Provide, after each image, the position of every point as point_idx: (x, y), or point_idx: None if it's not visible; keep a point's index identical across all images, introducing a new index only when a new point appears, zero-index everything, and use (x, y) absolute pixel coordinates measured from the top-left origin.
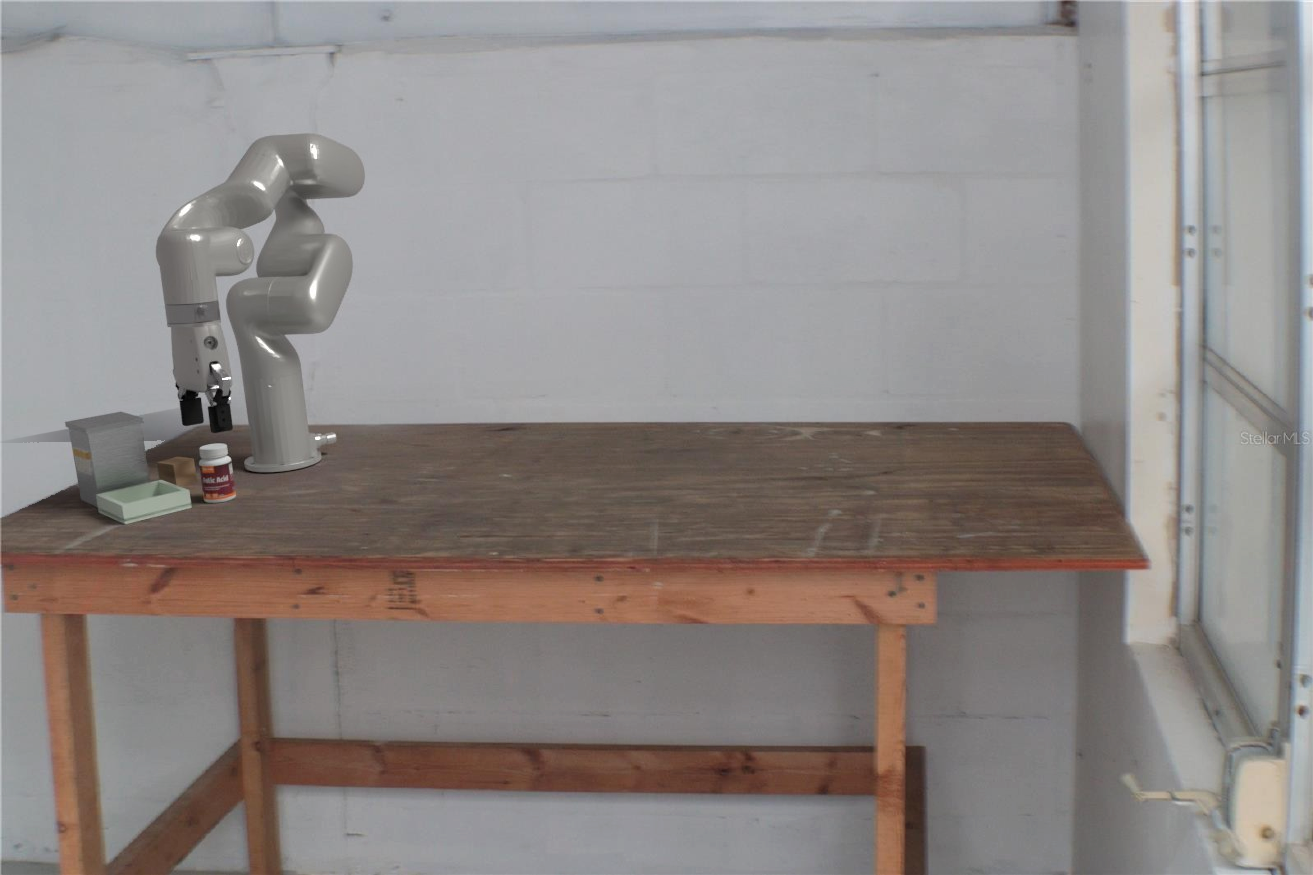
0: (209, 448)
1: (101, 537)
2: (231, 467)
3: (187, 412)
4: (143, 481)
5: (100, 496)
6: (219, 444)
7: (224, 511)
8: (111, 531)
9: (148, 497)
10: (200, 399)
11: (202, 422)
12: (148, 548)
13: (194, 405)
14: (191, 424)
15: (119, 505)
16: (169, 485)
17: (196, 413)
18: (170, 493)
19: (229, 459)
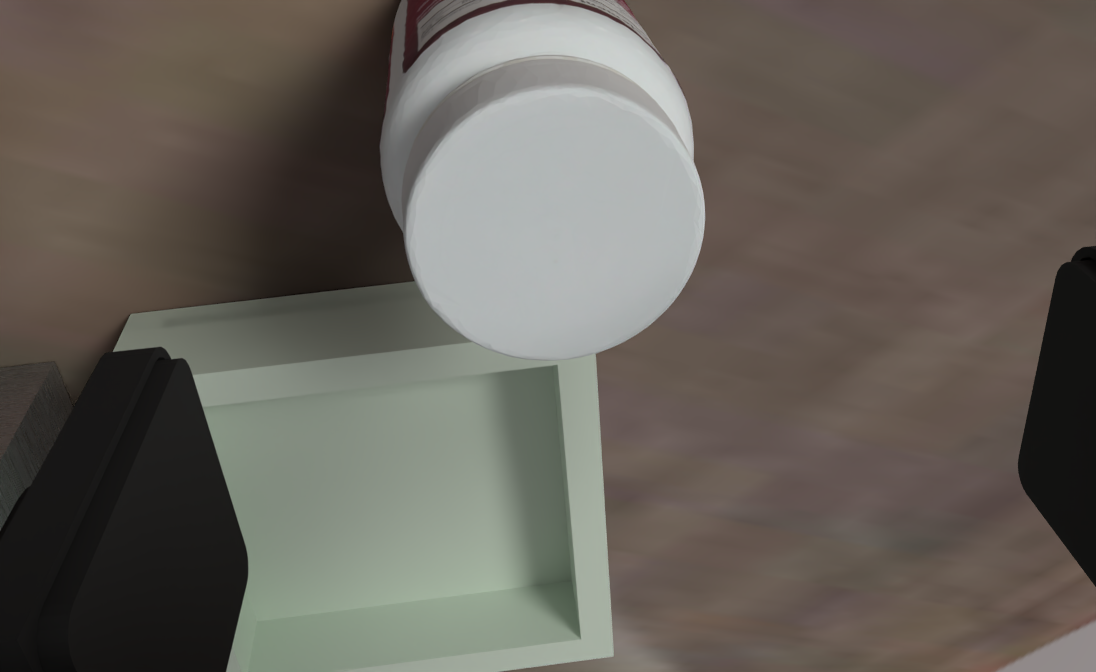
0: (619, 290)
1: (718, 669)
2: (631, 20)
3: (206, 665)
4: (30, 470)
5: None
6: (517, 151)
7: (848, 138)
8: (661, 630)
9: (211, 429)
10: (75, 631)
11: (186, 366)
12: (1077, 573)
13: (139, 647)
14: (229, 500)
15: (577, 658)
16: (339, 387)
17: (178, 529)
18: (579, 433)
19: (647, 55)
